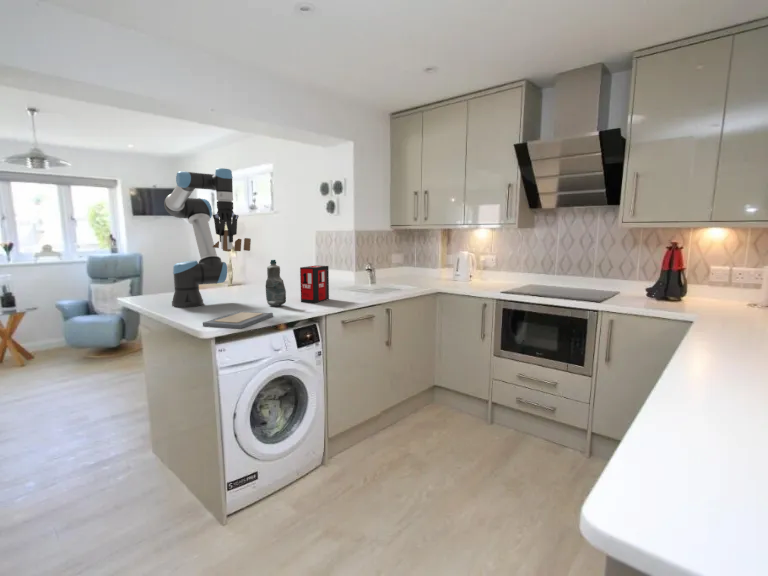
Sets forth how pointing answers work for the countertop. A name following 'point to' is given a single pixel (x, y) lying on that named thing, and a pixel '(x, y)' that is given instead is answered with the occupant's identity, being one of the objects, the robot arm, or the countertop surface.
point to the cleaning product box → (314, 284)
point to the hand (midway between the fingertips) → (226, 248)
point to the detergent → (275, 285)
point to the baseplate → (238, 319)
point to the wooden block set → (237, 243)
